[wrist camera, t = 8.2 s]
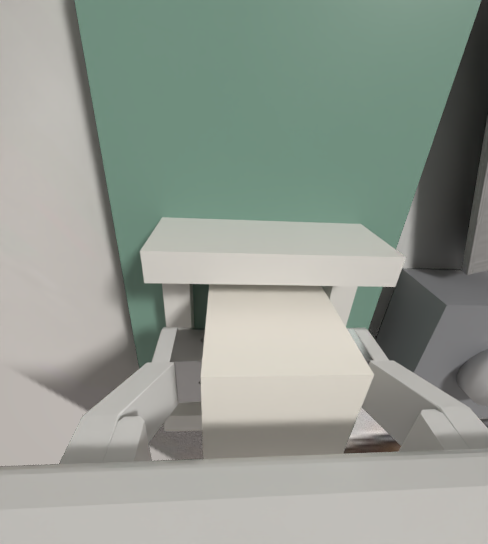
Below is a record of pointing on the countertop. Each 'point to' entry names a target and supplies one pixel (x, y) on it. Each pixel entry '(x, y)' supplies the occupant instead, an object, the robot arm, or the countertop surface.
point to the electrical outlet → (478, 218)
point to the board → (264, 145)
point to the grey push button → (441, 331)
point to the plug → (278, 373)
